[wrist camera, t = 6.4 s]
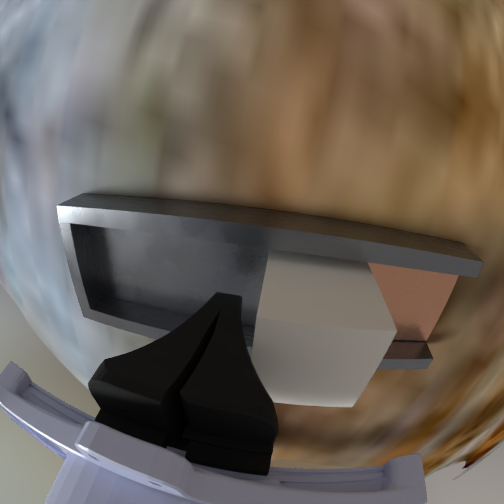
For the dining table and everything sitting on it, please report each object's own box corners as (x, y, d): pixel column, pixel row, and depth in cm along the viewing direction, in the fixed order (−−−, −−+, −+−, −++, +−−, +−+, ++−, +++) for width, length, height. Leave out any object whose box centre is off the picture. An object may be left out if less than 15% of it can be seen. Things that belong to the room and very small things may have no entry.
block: (341, 331, 15) (352, 407, 10) (260, 321, 16) (245, 398, 11) (366, 259, 13) (397, 331, 8) (270, 245, 14) (256, 317, 9)
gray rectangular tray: (417, 344, 16) (426, 368, 14) (100, 298, 18) (83, 316, 16) (463, 243, 12) (483, 262, 10) (81, 193, 15) (56, 205, 12)
